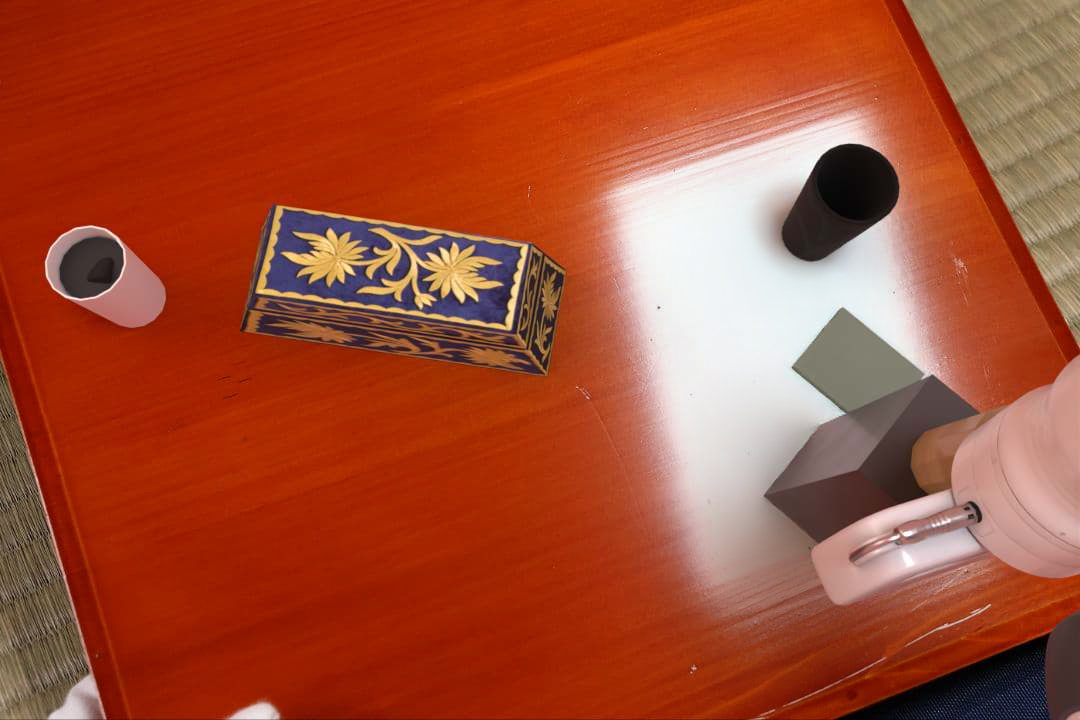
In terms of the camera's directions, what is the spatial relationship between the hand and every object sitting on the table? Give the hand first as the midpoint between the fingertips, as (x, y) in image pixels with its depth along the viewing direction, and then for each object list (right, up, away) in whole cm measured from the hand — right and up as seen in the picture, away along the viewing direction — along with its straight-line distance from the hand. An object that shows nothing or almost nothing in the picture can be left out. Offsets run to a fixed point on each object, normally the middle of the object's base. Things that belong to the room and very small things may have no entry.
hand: (921, 555), depth 57 cm
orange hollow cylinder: (+3, +6, +2) cm, 7 cm away
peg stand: (+2, +1, +23) cm, 23 cm away
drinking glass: (-64, +19, +25) cm, 71 cm away
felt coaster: (+5, +12, +26) cm, 29 cm away
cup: (+1, +25, +29) cm, 39 cm away
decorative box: (-38, +19, +26) cm, 50 cm away
